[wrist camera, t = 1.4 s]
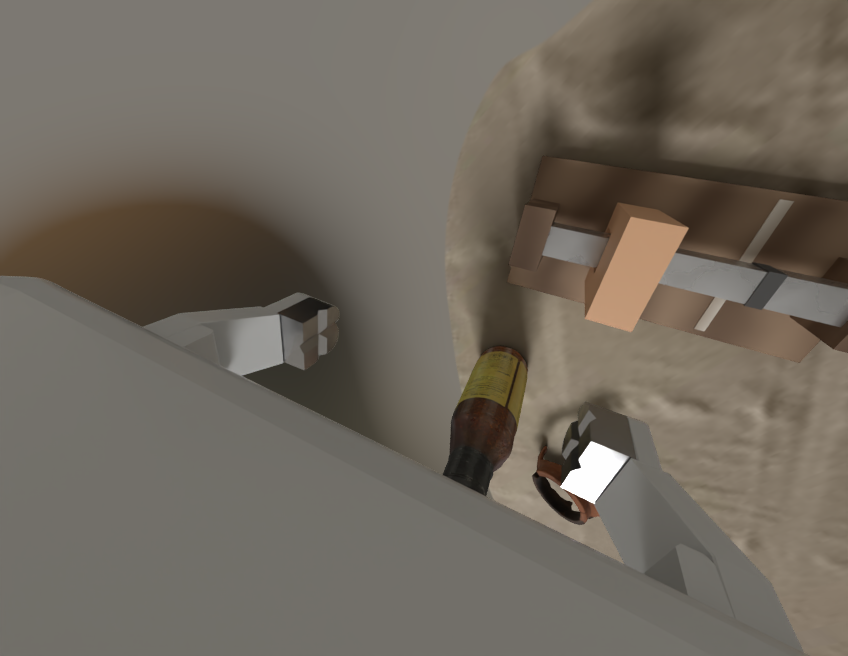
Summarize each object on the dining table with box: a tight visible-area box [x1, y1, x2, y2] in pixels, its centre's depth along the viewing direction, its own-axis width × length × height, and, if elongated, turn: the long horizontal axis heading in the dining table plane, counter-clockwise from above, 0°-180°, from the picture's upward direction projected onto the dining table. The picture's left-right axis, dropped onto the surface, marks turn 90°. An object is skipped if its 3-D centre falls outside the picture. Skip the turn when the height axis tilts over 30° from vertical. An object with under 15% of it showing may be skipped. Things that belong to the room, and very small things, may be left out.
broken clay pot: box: [532, 446, 600, 525], centre depth 38 cm, size 12×10×8 cm
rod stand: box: [507, 156, 848, 363], centre depth 25 cm, size 25×12×6 cm, turn 83°
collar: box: [585, 203, 689, 332], centre depth 24 cm, size 3×7×9 cm, turn 172°
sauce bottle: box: [443, 346, 528, 496], centre depth 31 cm, size 7×6×20 cm
